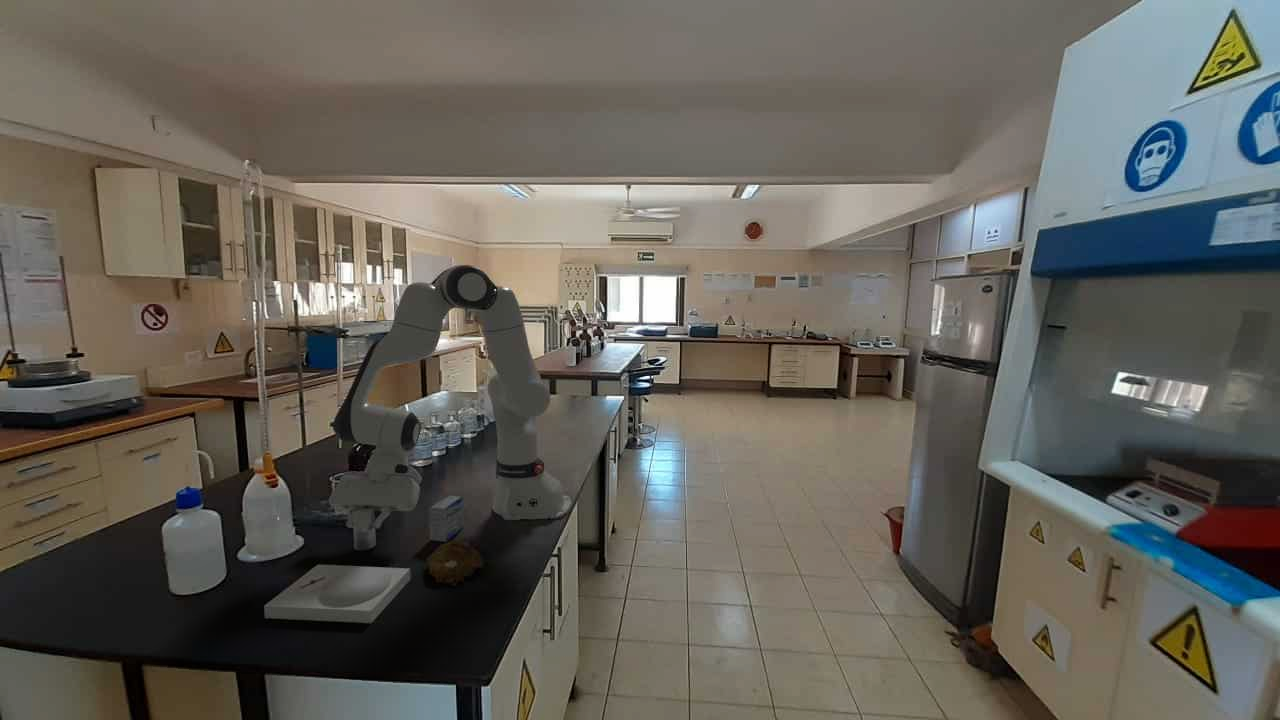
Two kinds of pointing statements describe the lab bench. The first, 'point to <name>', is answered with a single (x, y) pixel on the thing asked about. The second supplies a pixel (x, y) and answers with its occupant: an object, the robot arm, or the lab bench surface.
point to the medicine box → (446, 518)
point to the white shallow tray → (339, 594)
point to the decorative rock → (454, 562)
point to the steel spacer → (363, 528)
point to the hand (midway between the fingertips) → (362, 527)
